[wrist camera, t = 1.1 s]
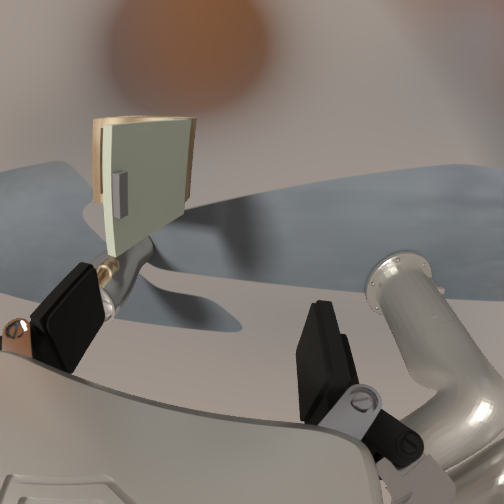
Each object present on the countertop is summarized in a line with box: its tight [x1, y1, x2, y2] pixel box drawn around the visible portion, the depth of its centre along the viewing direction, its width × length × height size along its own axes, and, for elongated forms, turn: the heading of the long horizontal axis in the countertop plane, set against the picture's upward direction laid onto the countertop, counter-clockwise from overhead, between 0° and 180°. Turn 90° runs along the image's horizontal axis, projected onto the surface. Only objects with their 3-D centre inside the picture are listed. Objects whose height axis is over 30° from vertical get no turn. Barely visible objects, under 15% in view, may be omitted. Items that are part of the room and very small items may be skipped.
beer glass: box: [89, 236, 154, 324], centre depth 36 cm, size 7×7×15 cm
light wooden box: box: [92, 116, 197, 203], centre depth 33 cm, size 12×11×6 cm
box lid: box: [102, 119, 191, 258], centre depth 25 cm, size 12×11×2 cm
